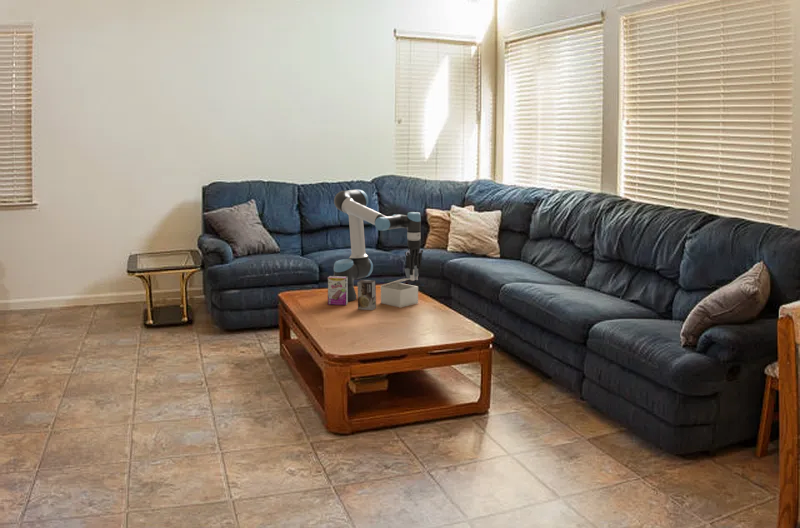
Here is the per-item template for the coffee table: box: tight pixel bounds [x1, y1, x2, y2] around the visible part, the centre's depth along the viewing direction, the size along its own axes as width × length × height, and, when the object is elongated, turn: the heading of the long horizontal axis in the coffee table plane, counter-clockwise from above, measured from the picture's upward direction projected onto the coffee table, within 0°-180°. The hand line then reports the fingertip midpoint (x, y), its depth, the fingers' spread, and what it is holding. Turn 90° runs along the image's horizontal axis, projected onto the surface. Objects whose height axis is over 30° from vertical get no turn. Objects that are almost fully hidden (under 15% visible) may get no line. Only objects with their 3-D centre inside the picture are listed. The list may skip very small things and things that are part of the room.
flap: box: [380, 266, 420, 287], centre depth 452 cm, size 24×15×6 cm, turn 45°
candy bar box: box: [327, 275, 349, 306], centre depth 453 cm, size 11×5×16 cm, turn 84°
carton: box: [380, 282, 419, 308], centre depth 456 cm, size 16×15×10 cm
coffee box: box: [356, 279, 377, 311], centre depth 442 cm, size 9×6×16 cm
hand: (413, 279), depth 446 cm, fingers closed on flap, 2 cm apart
